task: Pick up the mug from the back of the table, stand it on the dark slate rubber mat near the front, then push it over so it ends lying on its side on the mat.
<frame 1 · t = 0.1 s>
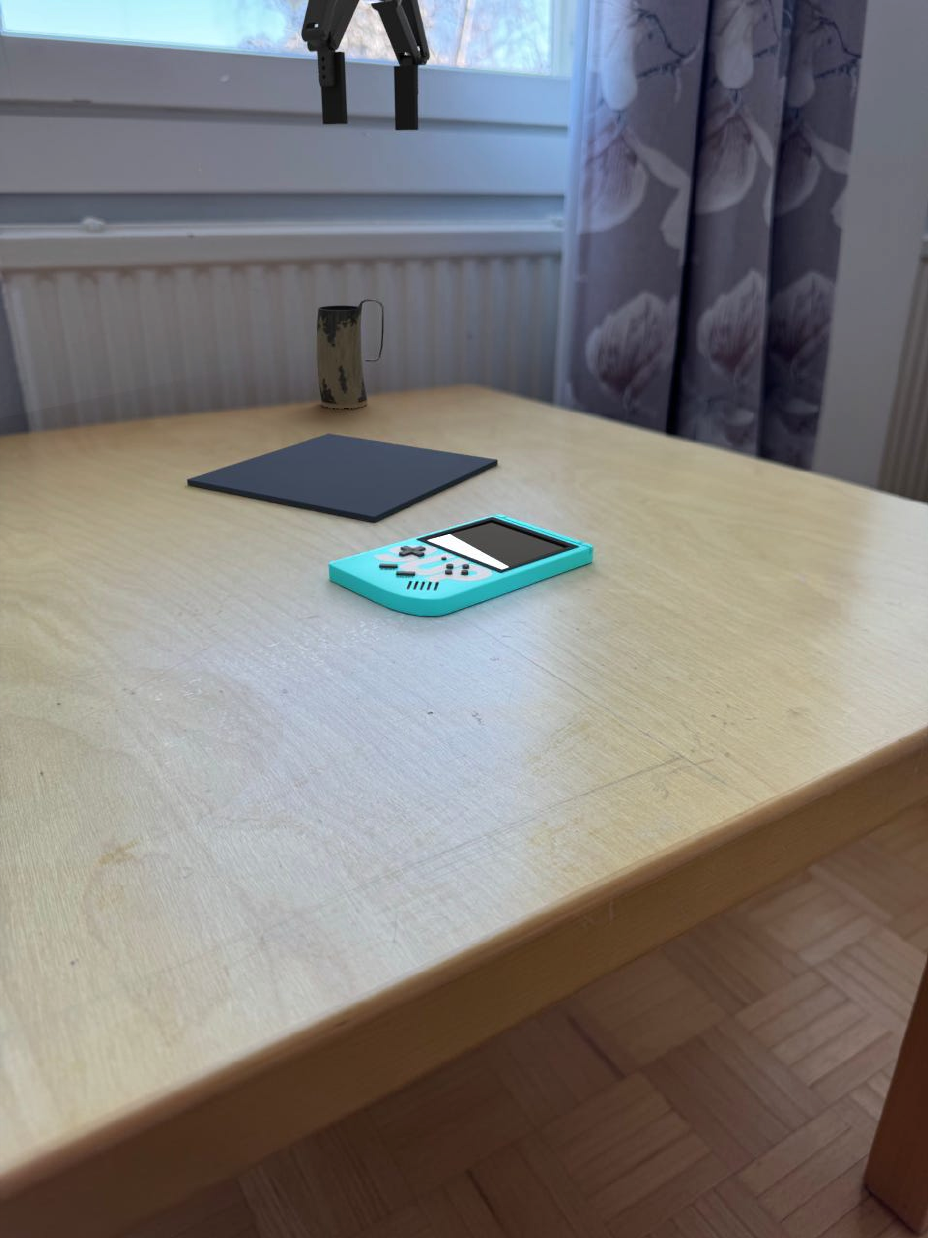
hand: (372, 127, 107), 30 cm above the table, tool pointing down, fingers open, 13 cm apart
mat: (348, 474, 87), on the table
handheld game console: (463, 571, 66), on the table
mug: (352, 405, 115), on the table
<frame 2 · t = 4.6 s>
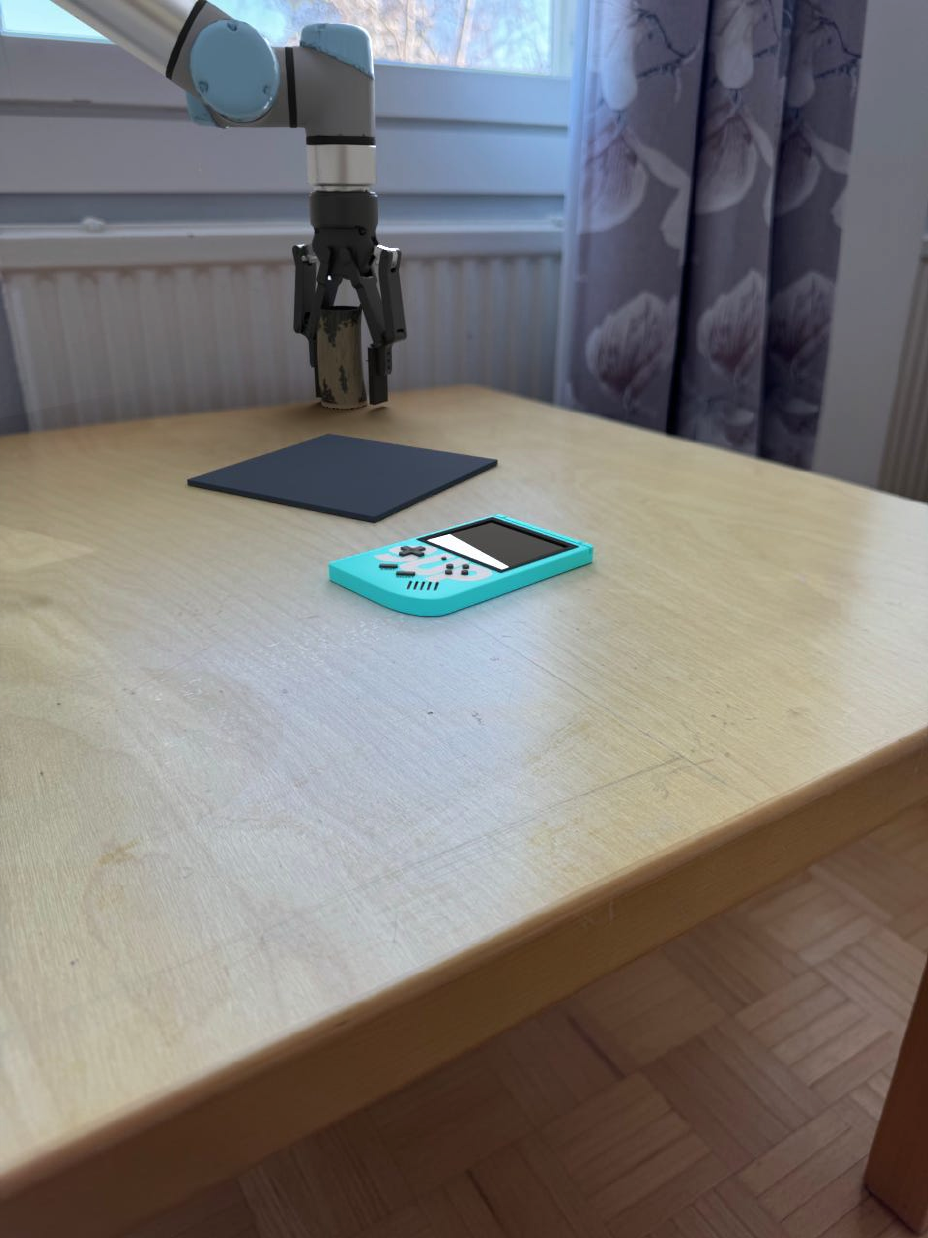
hand: (351, 398, 115), 1 cm above the table, tool pointing down, fingers closed on mug, 7 cm apart
mug: (353, 405, 115), on the table, touching gripper
everything else where it was.
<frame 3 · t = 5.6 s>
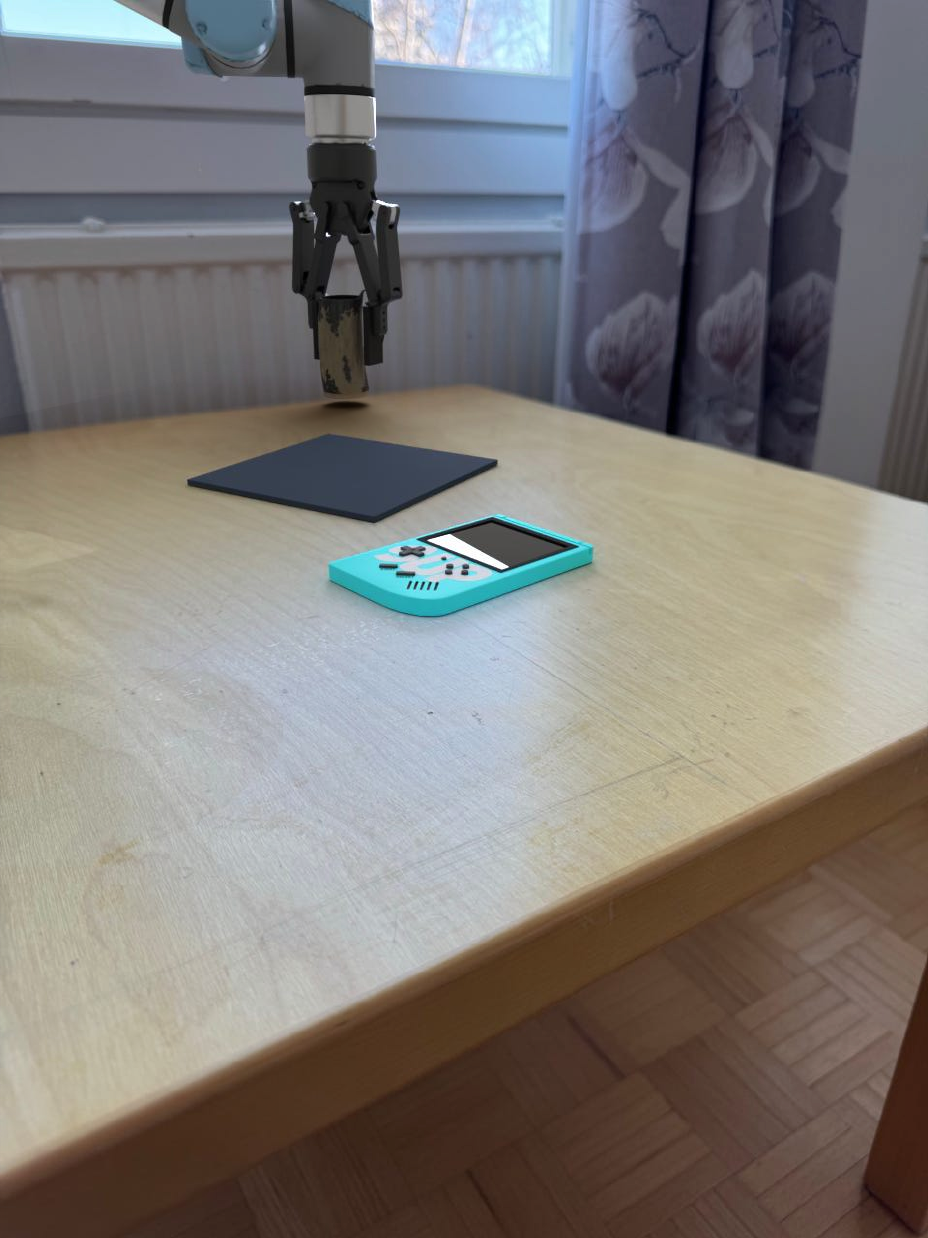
hand: (348, 360, 113), 5 cm above the table, tool pointing down, fingers closed on mug, 7 cm apart
mug: (355, 395, 115), point 1 cm above the table, touching gripper
everything else where it was.
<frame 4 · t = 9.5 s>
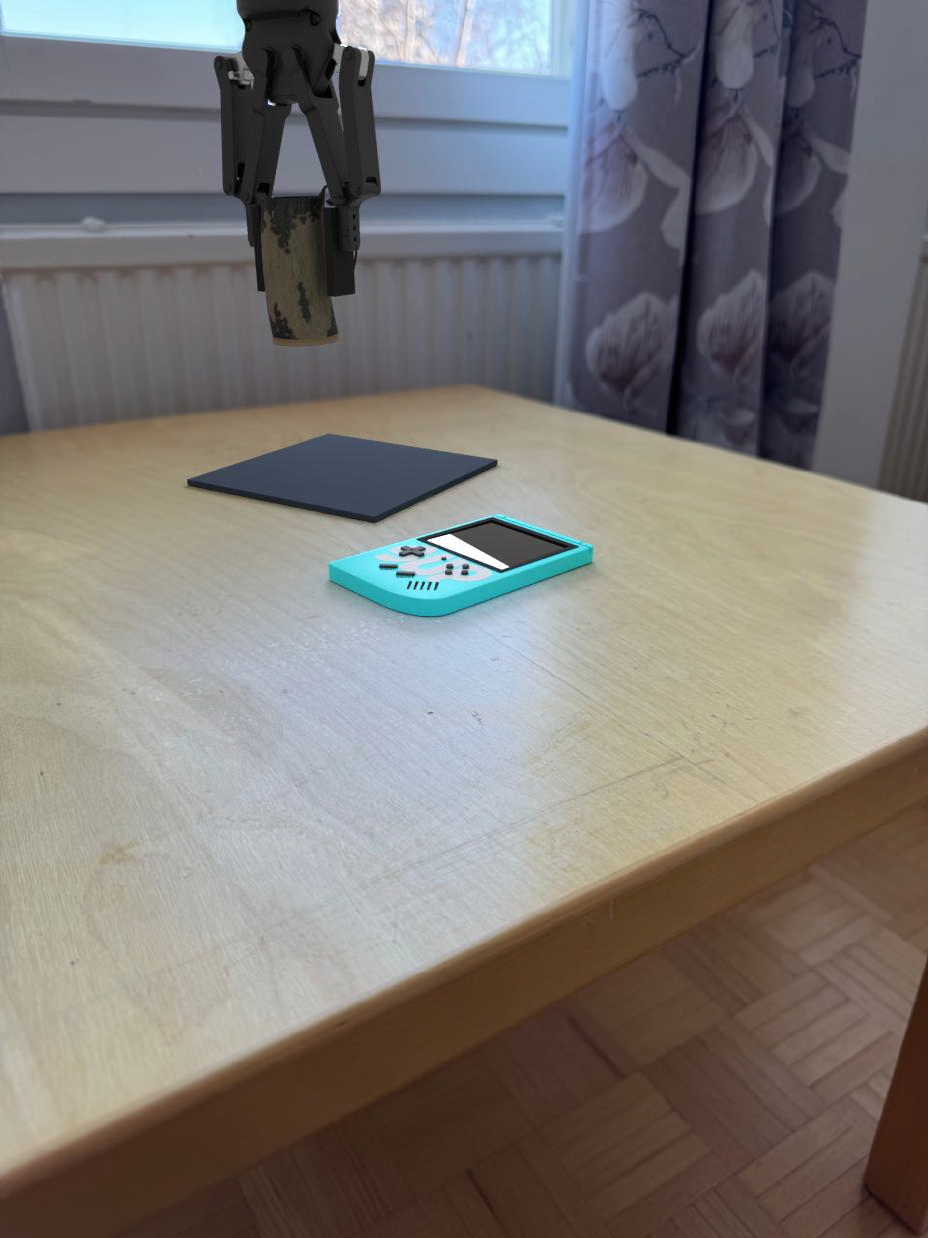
hand: (305, 291, 79), 16 cm above the table, tool pointing down
mug: (318, 342, 81), point 12 cm above the table, touching gripper
everything else where it was.
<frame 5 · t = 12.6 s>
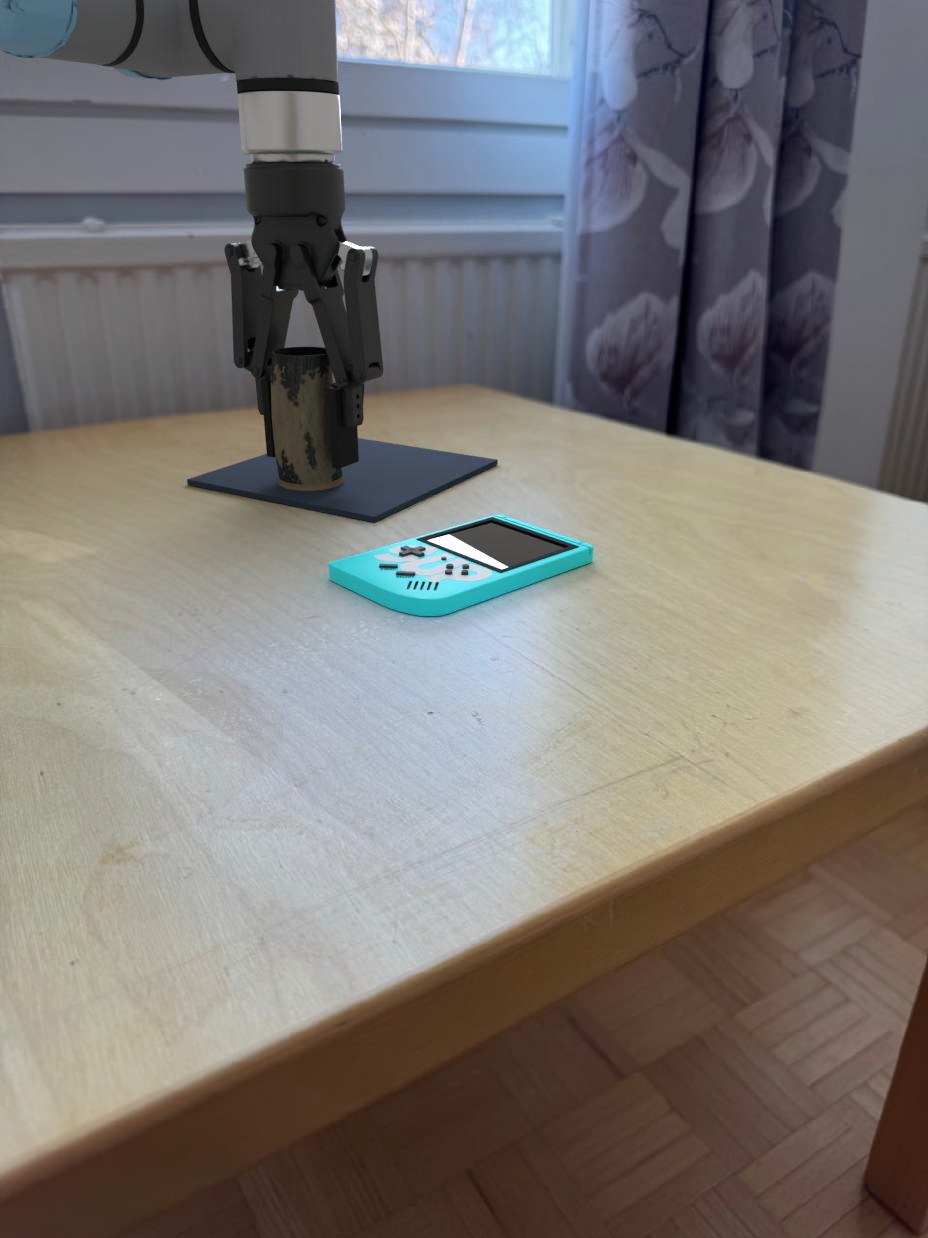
hand: (312, 458, 82), 3 cm above the table, tool pointing down, fingers closed on mug, 6 cm apart
mug: (323, 483, 83), resting on mat, touching gripper
everything else where it was.
when the fingers open (3 cm above the table, at t = 12.6 s): mug stays where it is, resting on mat.
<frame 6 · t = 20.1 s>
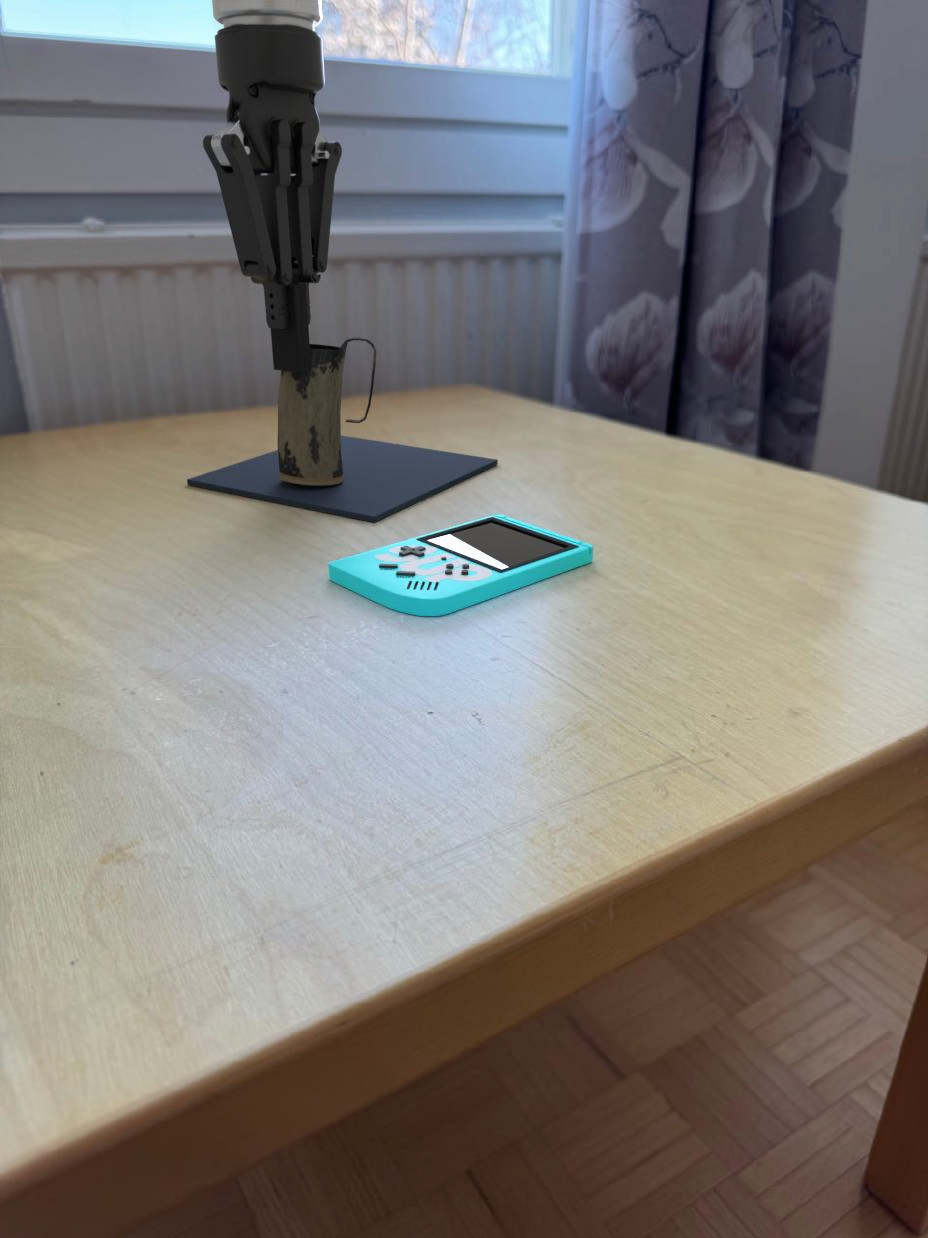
hand: (292, 369, 77), 10 cm above the table, tool pointing down, fingers closed
mug: (323, 481, 83), point 1 cm above the table, touching gripper, mat
everything else where it was.
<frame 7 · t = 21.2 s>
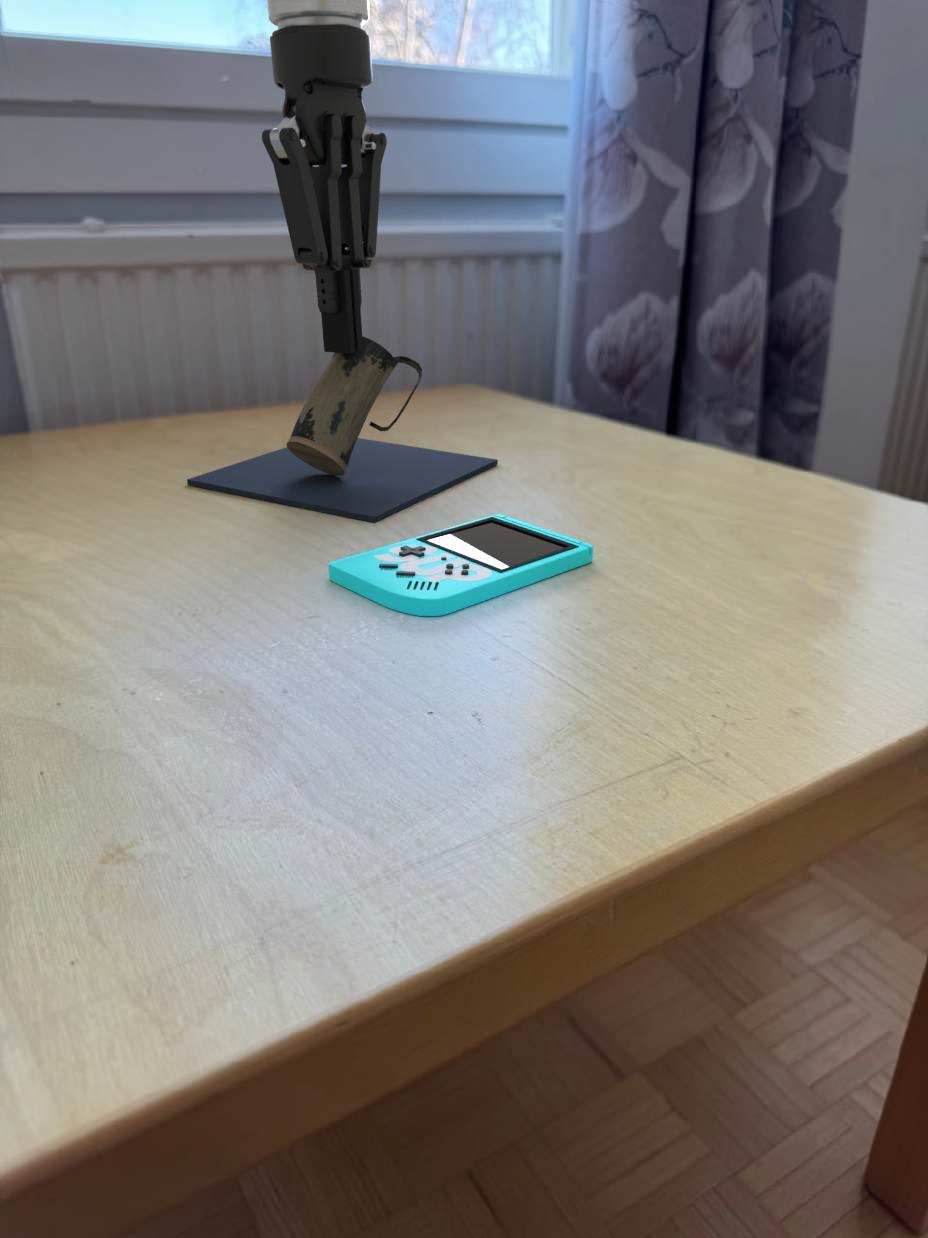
hand: (343, 350, 82), 11 cm above the table, tool pointing down, fingers closed
mug: (325, 466, 83), point 2 cm above the table, touching gripper, mat
everything else where it was.
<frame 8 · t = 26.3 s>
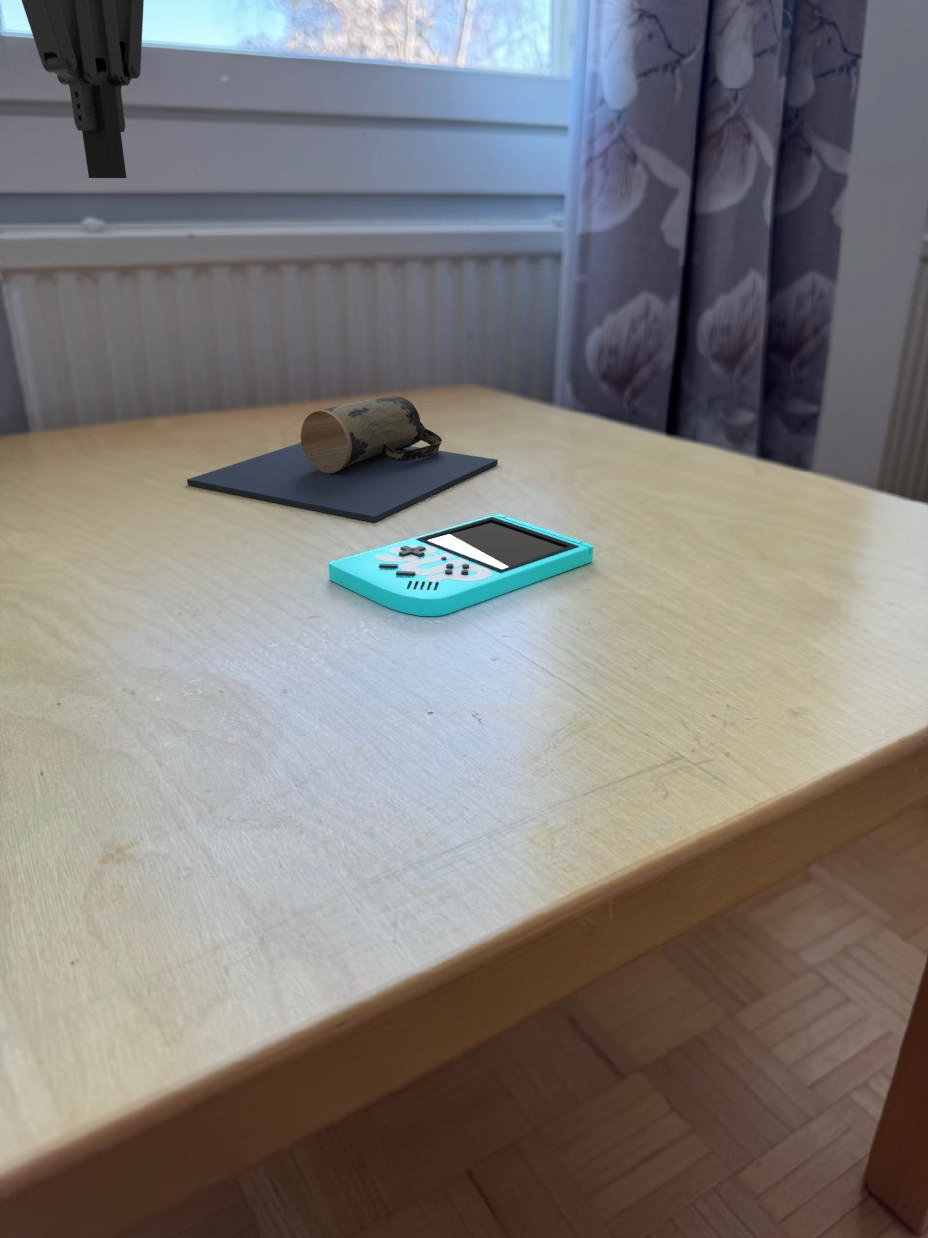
hand: (107, 177, 78), 24 cm above the table, tool pointing down, fingers closed
mug: (330, 448, 84), point 3 cm above the table, touching mat
everything else where it was.
at the end: mug tilted 91°; mug inside the target area on the mat (2.4 cm from its centre), point 2.9 cm above the mat's base; the gripper is holding nothing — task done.
